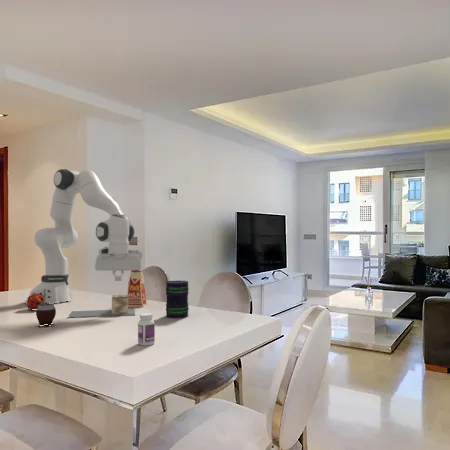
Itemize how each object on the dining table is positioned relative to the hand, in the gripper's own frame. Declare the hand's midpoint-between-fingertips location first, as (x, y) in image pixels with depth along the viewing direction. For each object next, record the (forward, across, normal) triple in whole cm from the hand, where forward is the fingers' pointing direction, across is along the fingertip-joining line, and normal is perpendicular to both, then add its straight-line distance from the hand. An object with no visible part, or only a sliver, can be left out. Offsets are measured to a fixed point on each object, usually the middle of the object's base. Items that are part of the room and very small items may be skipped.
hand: (118, 280), depth 191 cm
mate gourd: (+15, +26, +22) cm, 37 cm away
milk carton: (+15, -9, -19) cm, 25 cm away
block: (+7, -1, 0) cm, 7 cm away
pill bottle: (+14, -11, +57) cm, 60 cm away
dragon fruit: (+16, +37, -16) cm, 44 cm away
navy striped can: (+14, -26, +13) cm, 32 cm away
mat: (+15, +6, 0) cm, 16 cm away
